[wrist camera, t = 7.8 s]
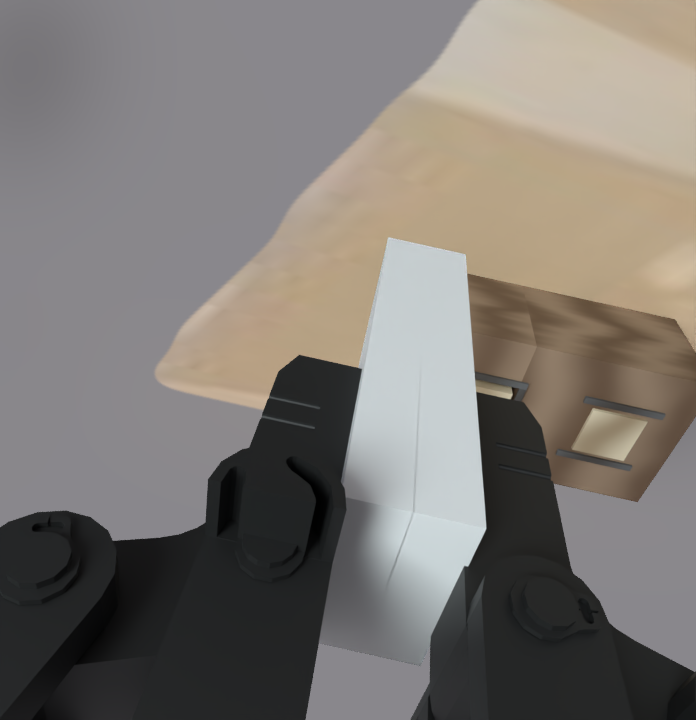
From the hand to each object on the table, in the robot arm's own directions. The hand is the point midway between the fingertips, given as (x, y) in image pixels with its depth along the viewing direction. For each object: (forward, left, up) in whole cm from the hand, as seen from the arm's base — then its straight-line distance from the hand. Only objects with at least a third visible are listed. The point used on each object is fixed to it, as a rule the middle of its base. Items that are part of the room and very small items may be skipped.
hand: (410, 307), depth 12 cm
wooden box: (-14, +21, -34) cm, 43 cm away
